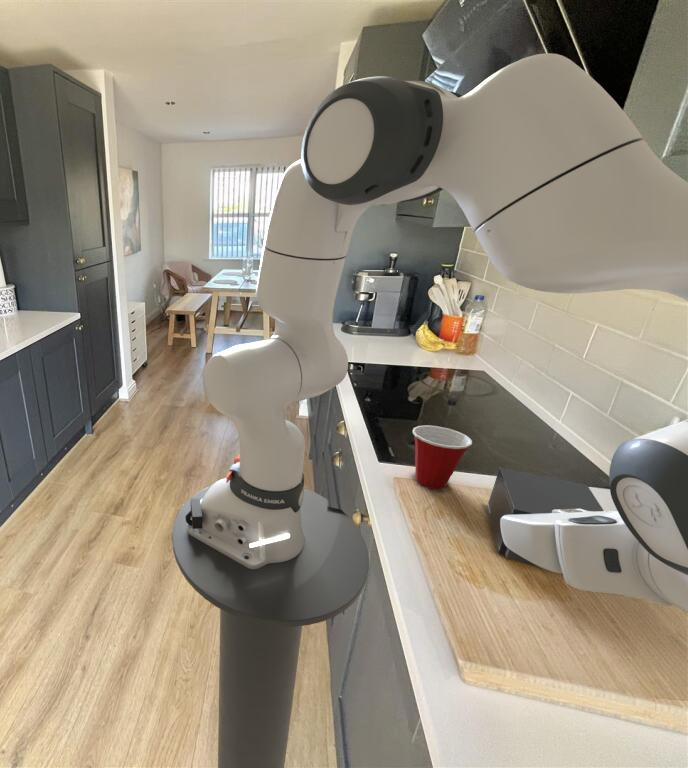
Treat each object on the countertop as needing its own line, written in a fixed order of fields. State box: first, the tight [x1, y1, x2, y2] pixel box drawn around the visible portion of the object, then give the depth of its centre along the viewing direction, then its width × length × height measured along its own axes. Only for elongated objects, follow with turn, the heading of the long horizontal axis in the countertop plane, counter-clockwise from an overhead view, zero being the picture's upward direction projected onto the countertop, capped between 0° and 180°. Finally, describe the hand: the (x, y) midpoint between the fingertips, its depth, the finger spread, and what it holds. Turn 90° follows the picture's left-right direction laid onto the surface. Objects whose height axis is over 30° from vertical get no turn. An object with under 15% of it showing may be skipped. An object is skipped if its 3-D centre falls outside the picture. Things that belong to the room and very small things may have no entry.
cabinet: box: [486, 467, 605, 555], centre depth 70 cm, size 14×13×10 cm
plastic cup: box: [412, 424, 473, 490], centre depth 87 cm, size 11×11×12 cm
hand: (565, 515), depth 50 cm, fingers closed
